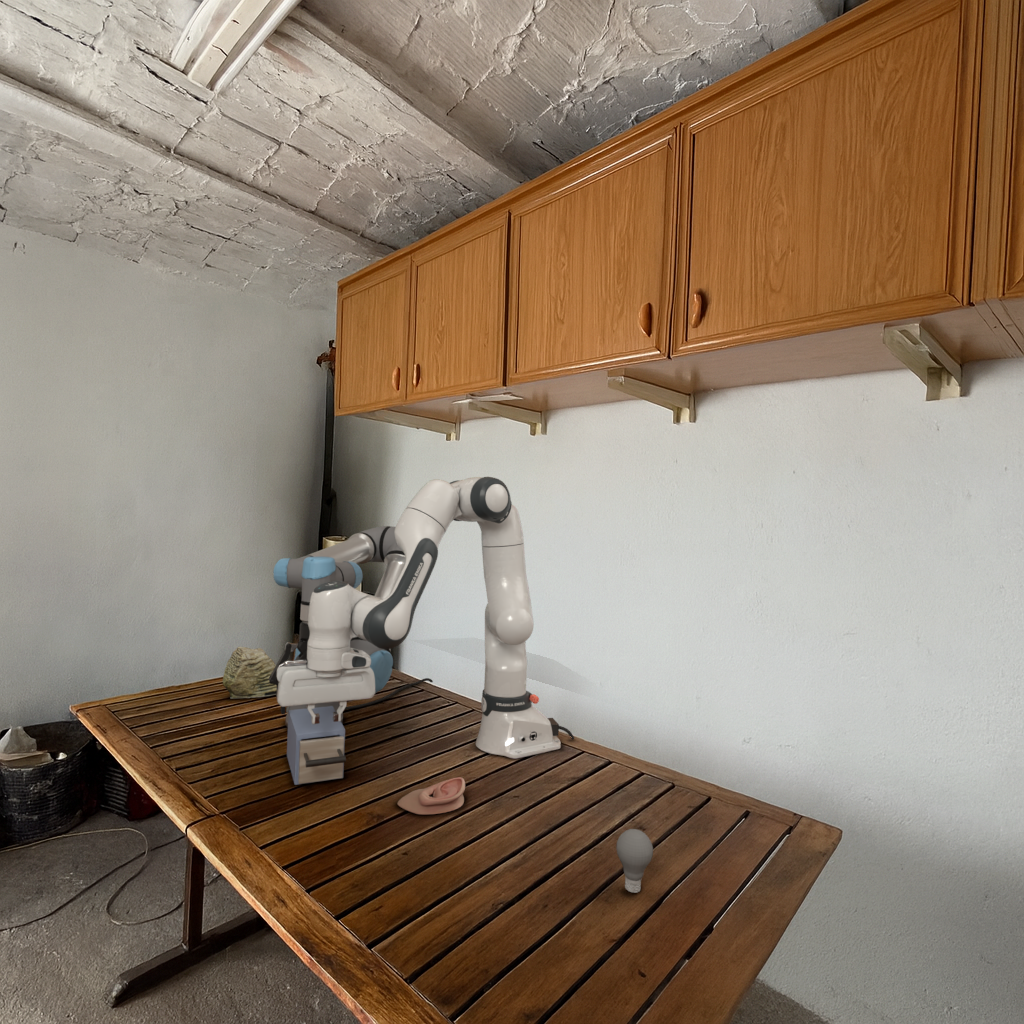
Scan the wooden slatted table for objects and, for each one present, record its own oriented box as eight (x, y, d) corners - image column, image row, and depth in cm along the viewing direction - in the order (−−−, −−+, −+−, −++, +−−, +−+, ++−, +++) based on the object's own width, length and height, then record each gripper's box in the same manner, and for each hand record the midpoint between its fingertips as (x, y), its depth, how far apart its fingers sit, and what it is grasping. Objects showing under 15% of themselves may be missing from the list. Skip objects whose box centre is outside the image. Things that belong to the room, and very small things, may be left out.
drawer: (347, 789, 135) (349, 747, 135) (302, 796, 132) (303, 753, 131) (330, 751, 155) (332, 714, 155) (291, 756, 151) (292, 718, 151)
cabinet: (343, 778, 143) (345, 729, 143) (294, 785, 139) (296, 735, 138) (330, 749, 158) (332, 705, 158) (286, 755, 154) (288, 710, 154)
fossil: (218, 695, 195) (220, 647, 195) (278, 685, 208) (279, 640, 207) (228, 703, 189) (230, 653, 188) (289, 692, 201) (290, 645, 201)
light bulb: (610, 879, 108) (613, 822, 108) (644, 879, 109) (647, 822, 109) (619, 902, 102) (622, 840, 102) (655, 901, 103) (658, 840, 103)
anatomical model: (392, 791, 129) (412, 768, 140) (391, 810, 129) (411, 786, 140) (454, 800, 126) (470, 776, 137) (454, 820, 126) (469, 794, 137)
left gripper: (261, 626, 143) (257, 719, 143) (372, 622, 154) (368, 709, 154) (259, 620, 150) (255, 709, 150) (365, 617, 161) (361, 700, 161)
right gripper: (278, 665, 128) (275, 732, 129) (378, 658, 137) (376, 721, 137) (275, 657, 134) (273, 722, 134) (372, 651, 143) (369, 712, 143)
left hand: (312, 709), depth 152 cm, fingers open, 13 cm apart
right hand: (326, 722), depth 136 cm, fingers open, 3 cm apart
